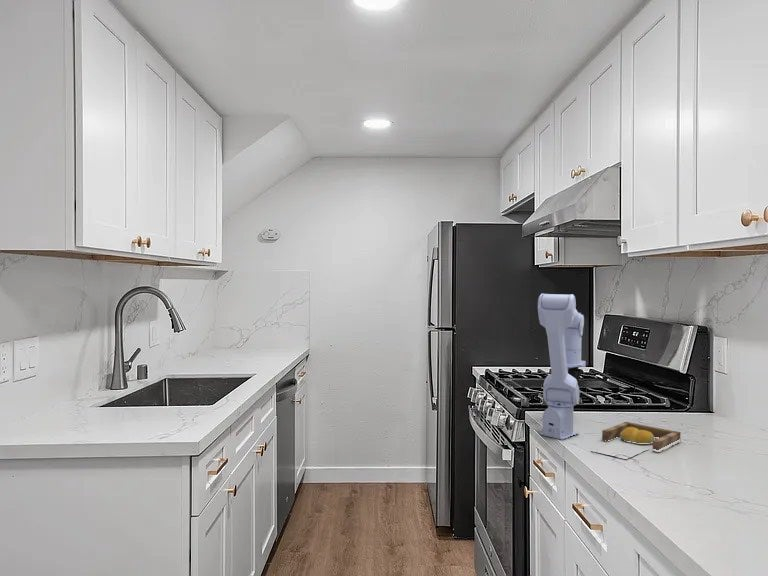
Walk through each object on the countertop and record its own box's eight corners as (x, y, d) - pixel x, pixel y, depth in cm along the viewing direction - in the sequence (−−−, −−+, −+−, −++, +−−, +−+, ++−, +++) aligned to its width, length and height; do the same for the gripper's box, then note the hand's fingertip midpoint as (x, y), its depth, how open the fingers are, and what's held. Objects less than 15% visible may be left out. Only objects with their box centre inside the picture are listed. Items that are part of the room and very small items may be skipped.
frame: (658, 453, 167) (658, 442, 167) (602, 440, 178) (602, 430, 178) (680, 442, 177) (680, 432, 177) (625, 431, 189) (625, 421, 189)
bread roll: (647, 447, 173) (648, 433, 172) (616, 441, 179) (617, 427, 179) (659, 442, 178) (659, 428, 178) (628, 436, 185) (629, 422, 185)
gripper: (572, 352, 190) (571, 396, 191) (594, 348, 200) (593, 389, 201) (551, 350, 196) (551, 392, 196) (574, 346, 206) (574, 386, 206)
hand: (571, 391), depth 199 cm, fingers closed
